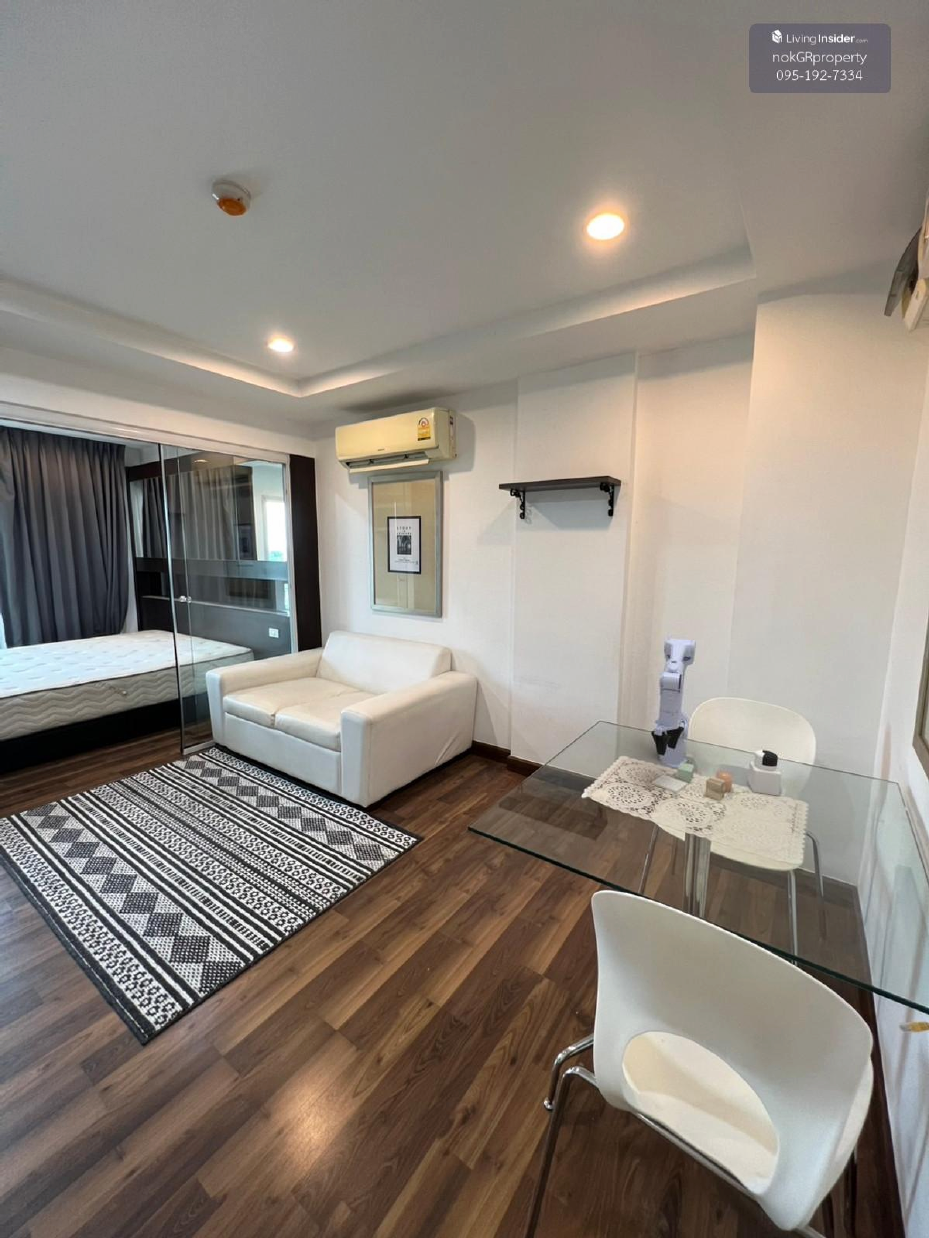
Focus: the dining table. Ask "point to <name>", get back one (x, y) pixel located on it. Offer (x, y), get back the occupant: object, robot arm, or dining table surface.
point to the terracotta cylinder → (725, 779)
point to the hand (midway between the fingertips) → (666, 751)
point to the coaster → (669, 783)
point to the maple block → (715, 788)
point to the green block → (685, 772)
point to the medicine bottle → (764, 773)
